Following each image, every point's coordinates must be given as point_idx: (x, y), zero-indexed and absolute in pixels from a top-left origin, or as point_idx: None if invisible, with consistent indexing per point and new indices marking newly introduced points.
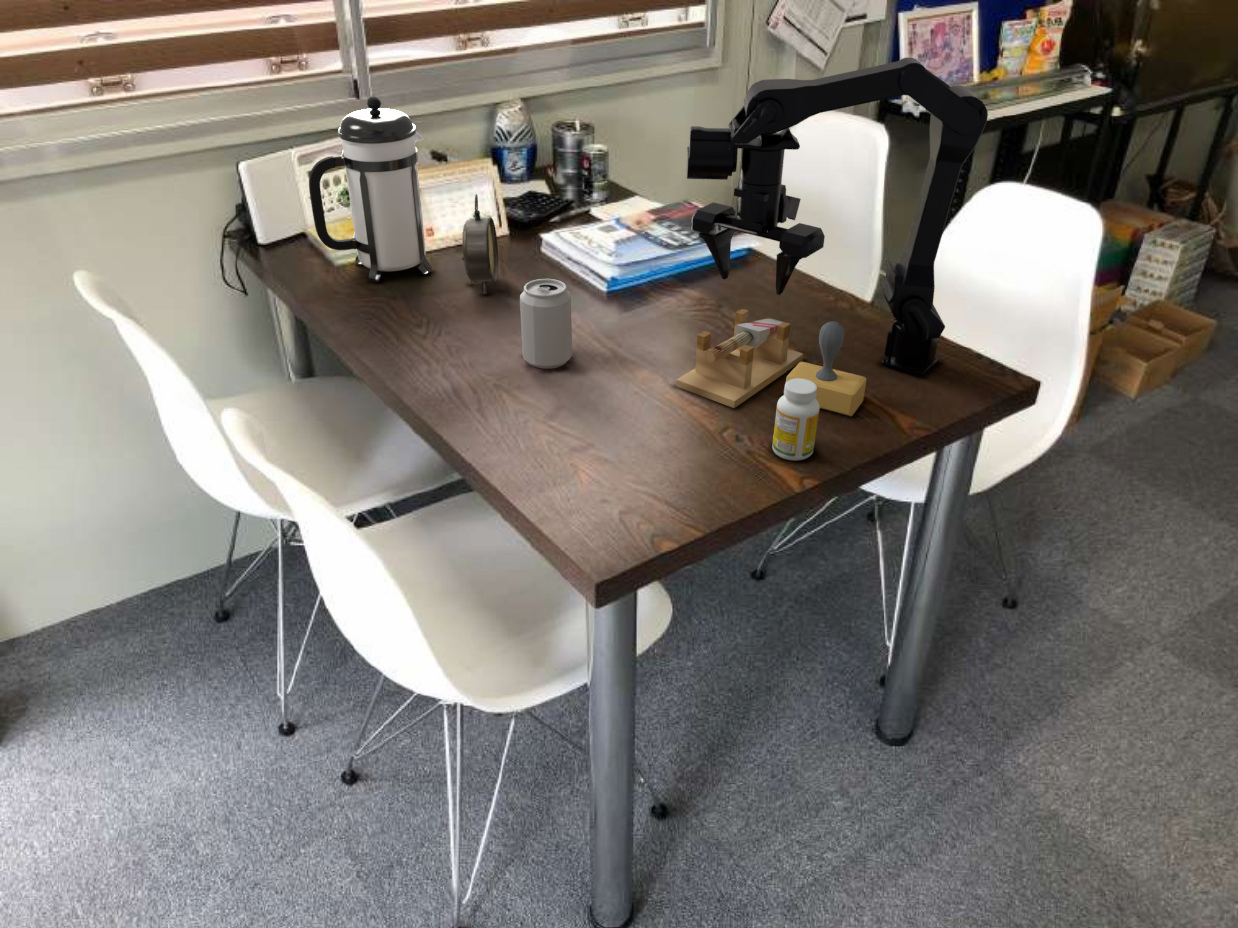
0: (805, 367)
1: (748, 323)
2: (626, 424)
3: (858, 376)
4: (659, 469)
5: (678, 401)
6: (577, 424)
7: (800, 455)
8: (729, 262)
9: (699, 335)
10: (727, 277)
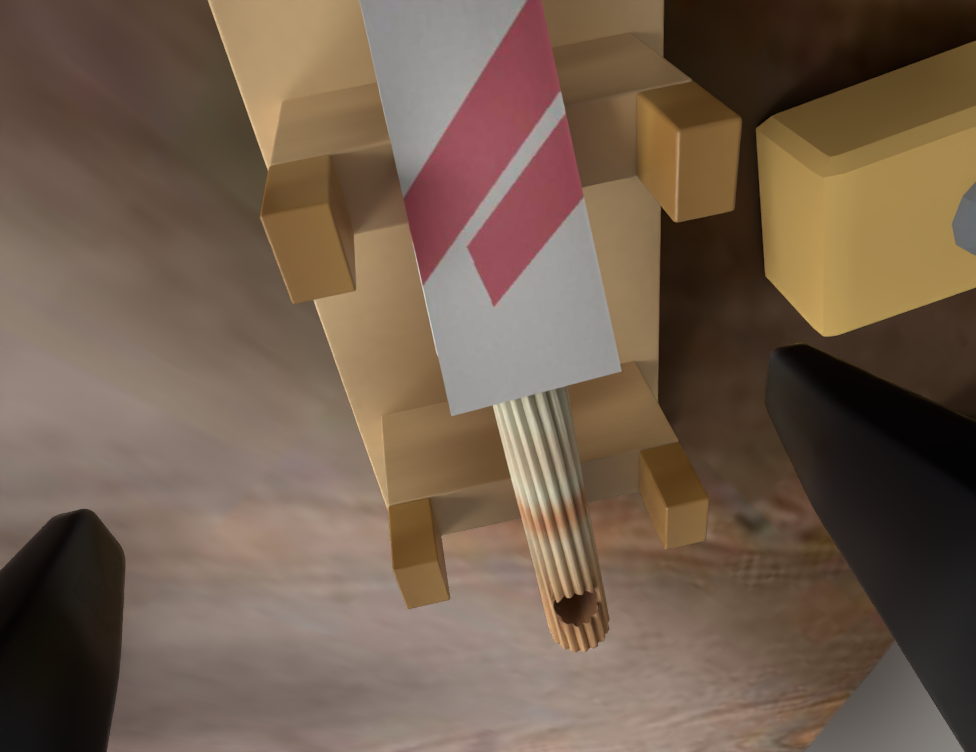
0: (879, 213)
1: (444, 287)
2: (470, 667)
3: None
4: (666, 681)
5: (475, 538)
6: (388, 730)
7: None
8: (4, 665)
9: (419, 606)
10: (90, 516)
